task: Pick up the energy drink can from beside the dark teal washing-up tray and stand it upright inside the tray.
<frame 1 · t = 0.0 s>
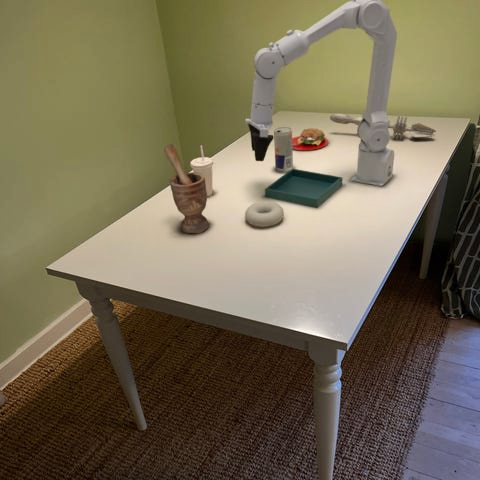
hand: (257, 155, 131), 11 cm above the table, tool pointing down, fingers open, 7 cm apart
cutlery set: (379, 137, 162), on the table
mortar and pestle: (190, 226, 126), on the table
smoothie: (206, 194, 140), on the table
hamburger: (307, 144, 163), on the table
energy drink: (284, 170, 148), on the table
tray: (303, 191, 135), on the table
donut: (264, 220, 124), on the table
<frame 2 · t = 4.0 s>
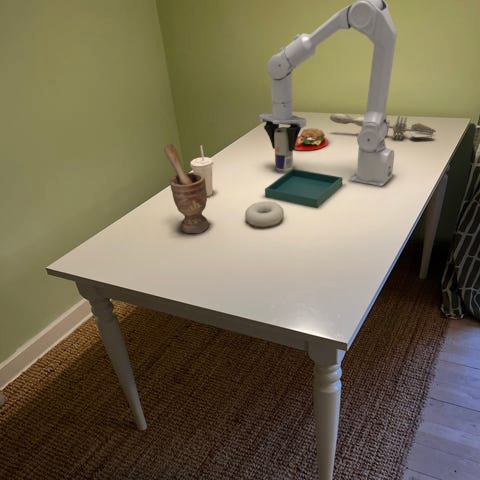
hand: (283, 148, 144), 6 cm above the table, tool pointing down, fingers closed on energy drink, 5 cm apart
energy drink: (284, 170, 148), on the table, touching gripper
everything else where it was.
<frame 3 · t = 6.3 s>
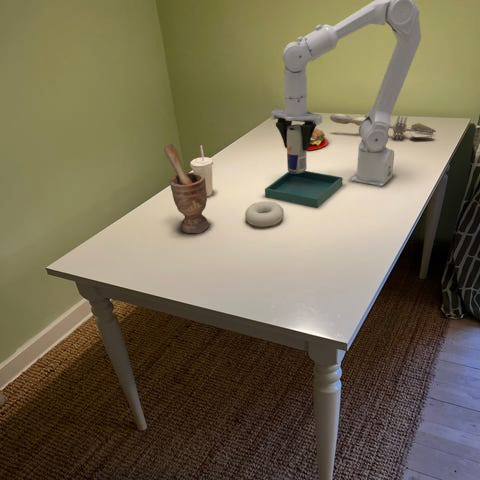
hand: (296, 148, 133), 10 cm above the table, tool pointing down, fingers closed on energy drink, 5 cm apart
energy drink: (297, 171, 137), point 4 cm above the table, touching gripper
everything else where it was.
when the fingers open (7 cm above the table, at t = 8.4 s): energy drink stays where it is, resting on tray.
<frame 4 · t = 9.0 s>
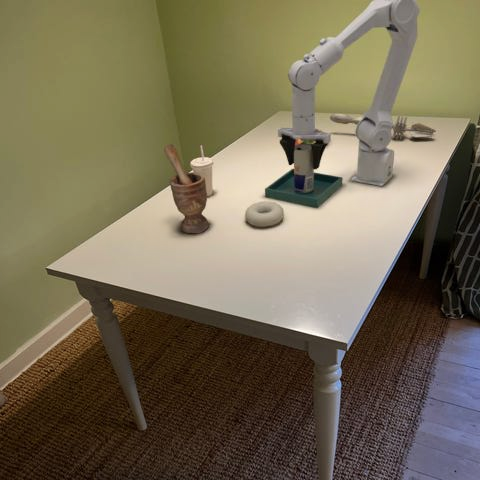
hand: (303, 166, 131), 7 cm above the table, tool pointing down, fingers open, 7 cm apart
energy drink: (304, 190, 135), resting on tray
everything else where it was.
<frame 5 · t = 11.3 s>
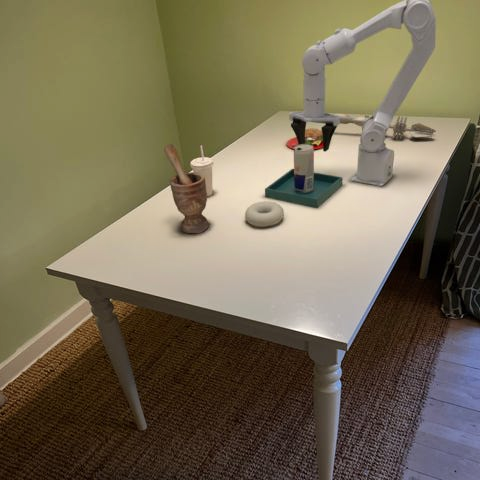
hand: (313, 148, 136), 9 cm above the table, tool pointing down, fingers open, 7 cm apart
nothing on the table moved.
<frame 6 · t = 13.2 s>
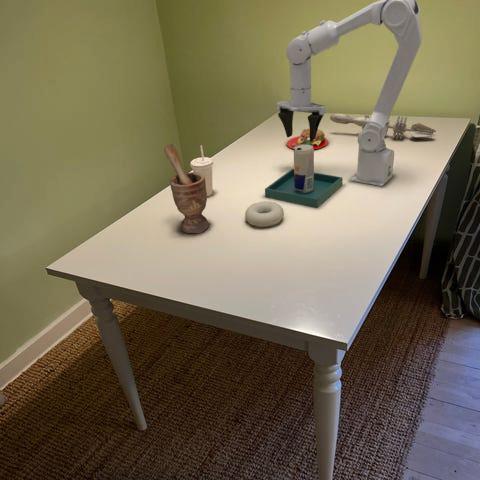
hand: (301, 137, 139), 10 cm above the table, tool pointing down, fingers open, 7 cm apart
nothing on the table moved.
at the end: energy drink inside the target area on the tray (0.0 cm from its centre), point 0.2 cm above the tray's base; energy drink tilted 0°; the gripper is holding nothing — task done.
